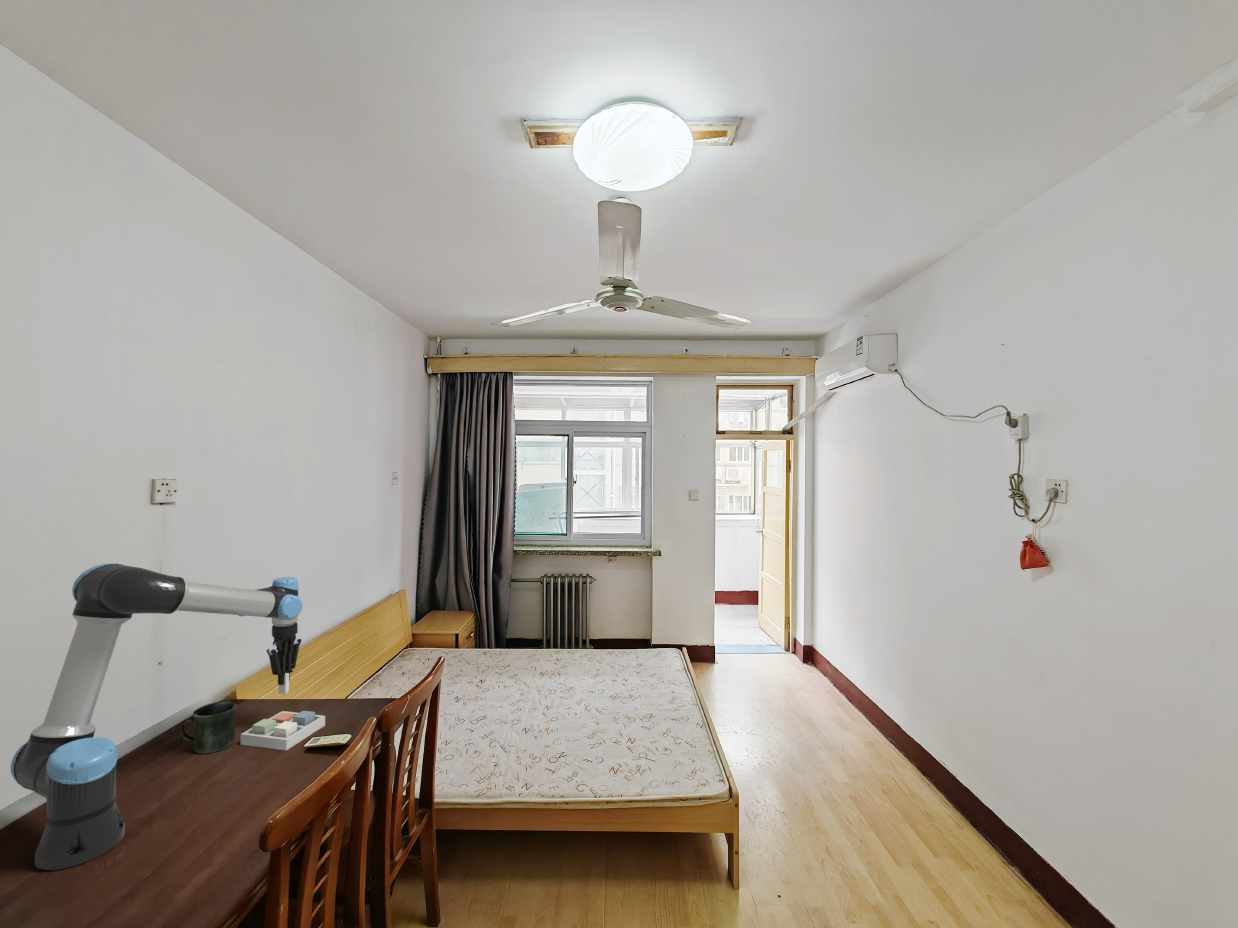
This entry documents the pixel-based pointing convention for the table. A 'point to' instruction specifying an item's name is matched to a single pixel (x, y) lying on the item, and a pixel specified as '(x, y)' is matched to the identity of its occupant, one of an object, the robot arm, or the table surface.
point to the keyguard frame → (282, 742)
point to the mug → (212, 727)
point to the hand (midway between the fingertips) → (283, 692)
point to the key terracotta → (283, 717)
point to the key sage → (263, 726)
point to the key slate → (304, 717)
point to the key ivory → (285, 729)
